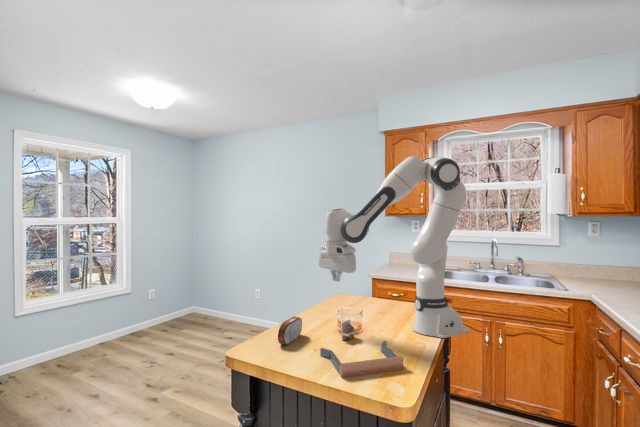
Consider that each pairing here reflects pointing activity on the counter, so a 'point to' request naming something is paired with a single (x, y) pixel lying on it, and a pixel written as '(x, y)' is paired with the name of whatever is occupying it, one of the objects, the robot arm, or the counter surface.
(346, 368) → the brown drawer handle
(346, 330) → the grey irregular piece
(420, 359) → the counter surface
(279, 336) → the tin
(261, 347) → the counter surface
